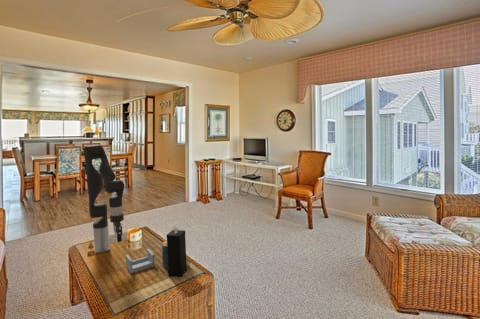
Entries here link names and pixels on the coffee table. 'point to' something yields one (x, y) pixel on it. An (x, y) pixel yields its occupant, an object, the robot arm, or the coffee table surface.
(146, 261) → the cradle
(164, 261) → the canister
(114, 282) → the coffee table surface
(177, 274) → the long black block
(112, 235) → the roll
